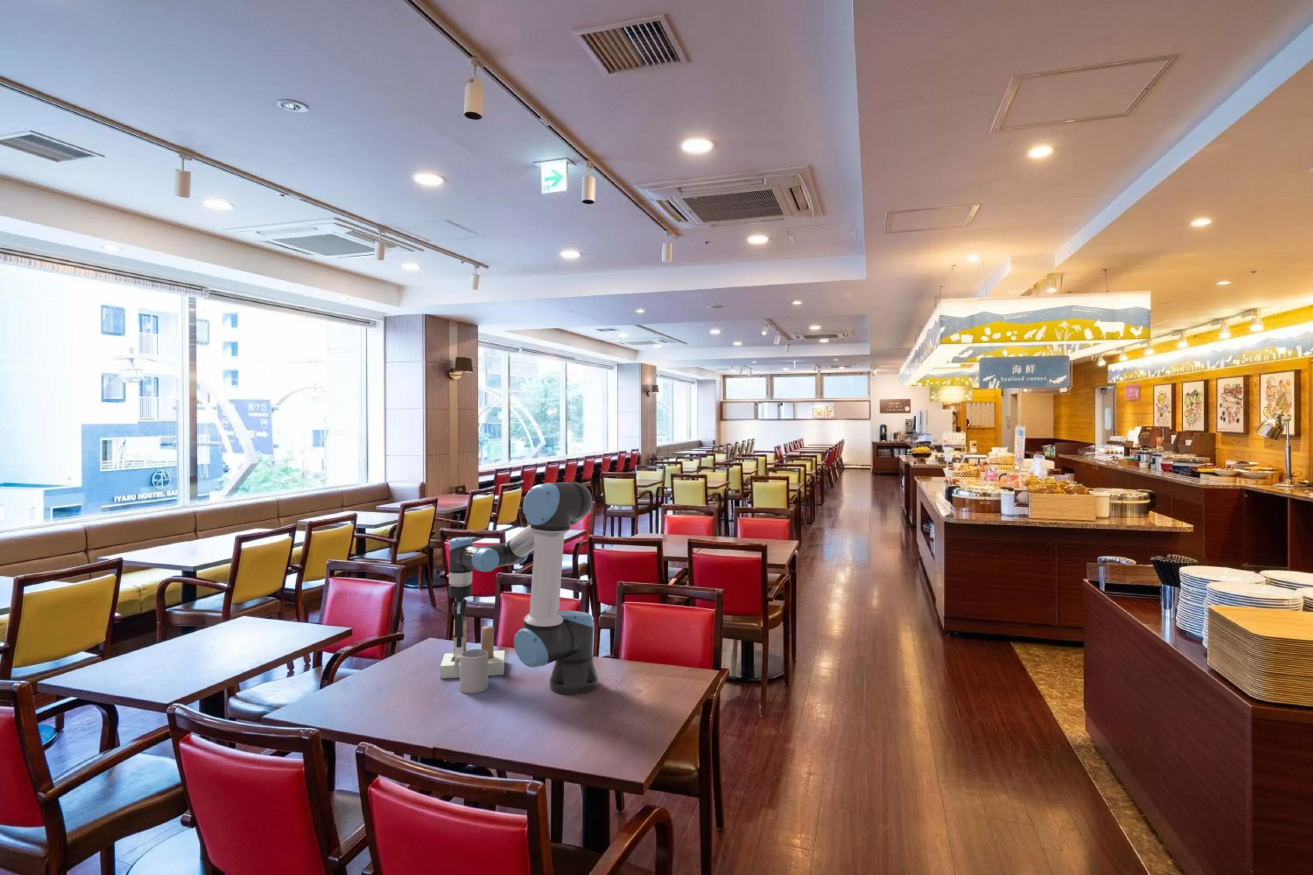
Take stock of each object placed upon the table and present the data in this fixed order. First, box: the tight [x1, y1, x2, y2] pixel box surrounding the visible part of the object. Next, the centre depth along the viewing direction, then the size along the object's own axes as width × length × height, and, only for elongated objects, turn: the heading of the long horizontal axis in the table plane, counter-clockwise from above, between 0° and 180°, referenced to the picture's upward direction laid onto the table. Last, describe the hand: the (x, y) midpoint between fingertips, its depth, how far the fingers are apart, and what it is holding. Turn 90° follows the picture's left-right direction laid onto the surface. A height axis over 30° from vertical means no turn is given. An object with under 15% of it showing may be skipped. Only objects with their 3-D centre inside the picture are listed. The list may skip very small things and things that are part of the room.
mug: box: [454, 648, 489, 695], centre depth 207 cm, size 12×8×11 cm
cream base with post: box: [439, 625, 506, 679], centre depth 224 cm, size 20×13×14 cm, turn 101°
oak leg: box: [452, 618, 467, 661], centre depth 223 cm, size 4×4×14 cm
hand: (459, 653), depth 223 cm, fingers closed on oak leg, 4 cm apart
